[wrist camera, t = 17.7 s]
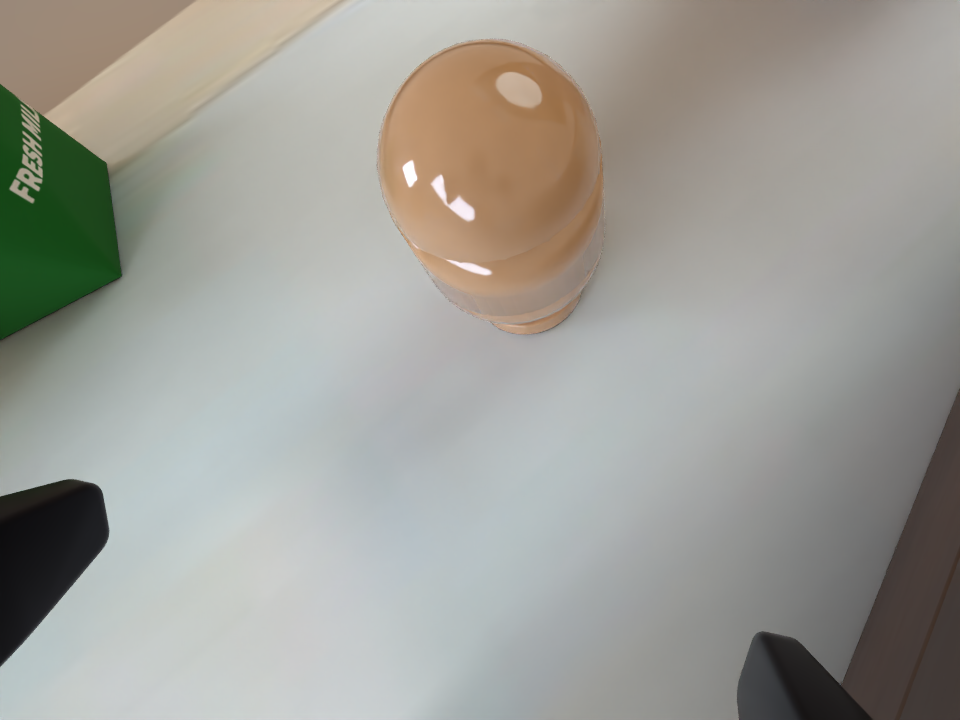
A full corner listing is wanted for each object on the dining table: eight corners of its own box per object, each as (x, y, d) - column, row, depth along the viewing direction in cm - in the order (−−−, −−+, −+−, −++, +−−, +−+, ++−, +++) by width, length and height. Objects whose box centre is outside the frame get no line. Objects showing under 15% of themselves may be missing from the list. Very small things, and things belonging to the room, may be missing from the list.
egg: (643, 279, 18) (658, 44, 10) (525, 391, 17) (442, 239, 9) (531, 194, 20) (471, -54, 12) (424, 292, 19) (290, 102, 12)
